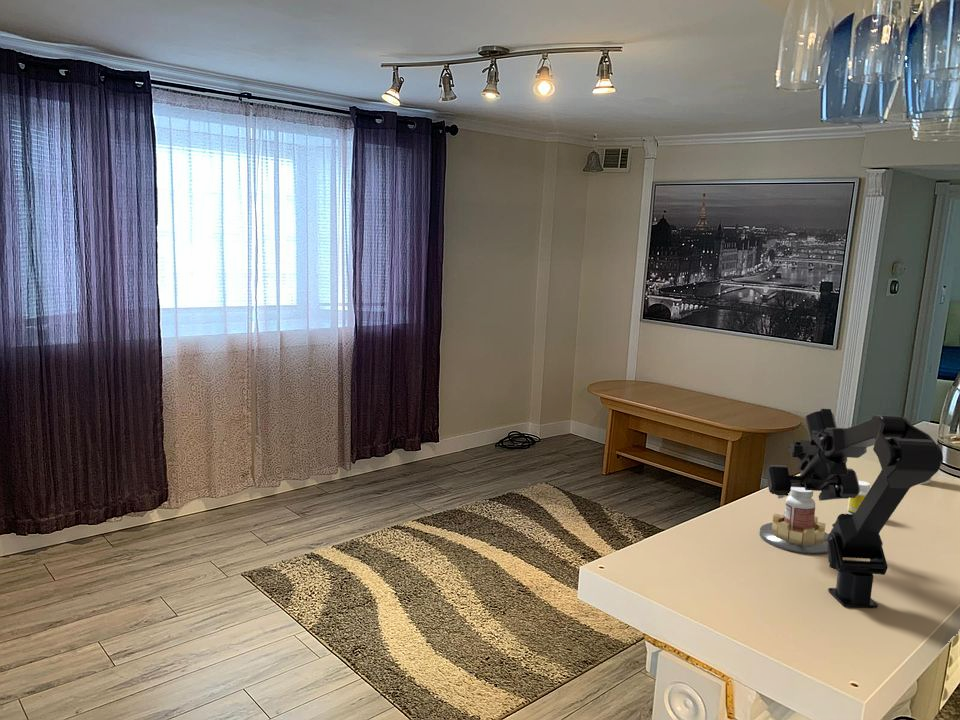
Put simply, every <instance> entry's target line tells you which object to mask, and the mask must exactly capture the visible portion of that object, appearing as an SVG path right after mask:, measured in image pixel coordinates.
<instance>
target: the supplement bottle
mask: <svg viewBox="0 0 960 720" xmlns="http://www.w3.org/2000/svg"><path fill="white" fill-rule="evenodd" d="M858 483H859V486H860V493H859V494H858V495H857V496H856V497H855V498H848V501H847V509H846V514H855V512H856V511H857V509H858V507H859V506H860V504H861V503H862V501H863V500H864V498H865V496H866V495H867V493H868V492H869V490H870V488H871V483H869V482H868V481H864V480H858Z"/></svg>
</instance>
